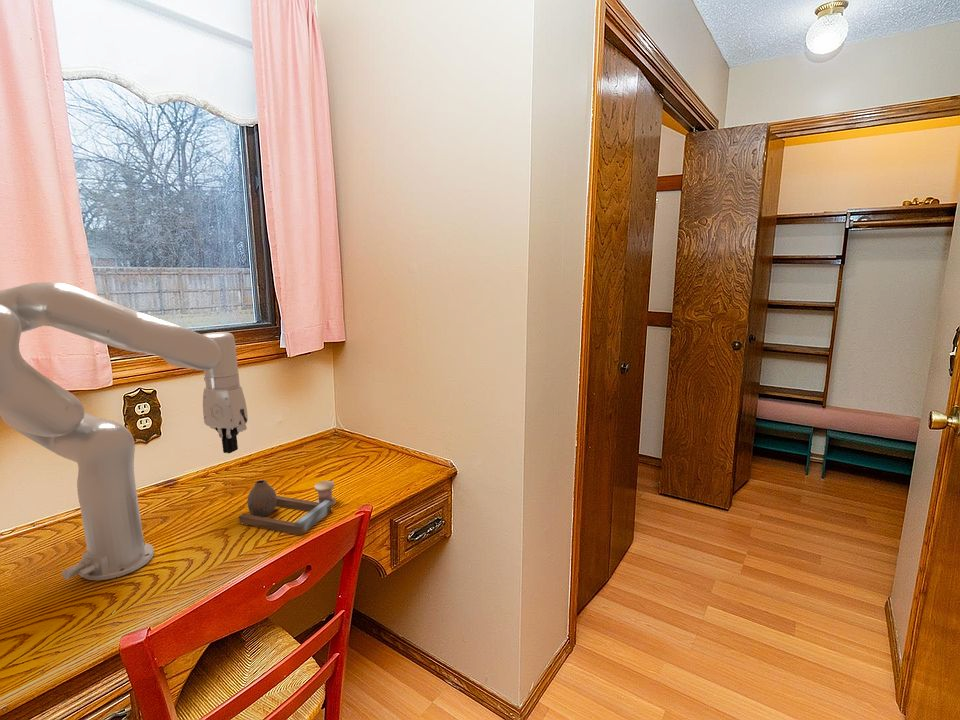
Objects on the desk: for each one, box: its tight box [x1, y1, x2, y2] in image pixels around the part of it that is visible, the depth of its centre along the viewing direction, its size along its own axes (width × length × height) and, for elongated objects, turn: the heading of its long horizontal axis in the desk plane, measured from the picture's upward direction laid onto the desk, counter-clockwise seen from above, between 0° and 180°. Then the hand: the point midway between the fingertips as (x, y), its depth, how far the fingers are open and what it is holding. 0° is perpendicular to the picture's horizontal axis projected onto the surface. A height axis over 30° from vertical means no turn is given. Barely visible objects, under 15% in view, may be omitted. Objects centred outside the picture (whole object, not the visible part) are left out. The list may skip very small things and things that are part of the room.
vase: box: [246, 479, 278, 517], centre depth 125 cm, size 7×7×9 cm
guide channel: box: [238, 495, 332, 536], centre depth 123 cm, size 12×18×3 cm, turn 72°
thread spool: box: [314, 480, 337, 507], centre depth 131 cm, size 5×5×5 cm
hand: (230, 451), depth 126 cm, fingers closed
